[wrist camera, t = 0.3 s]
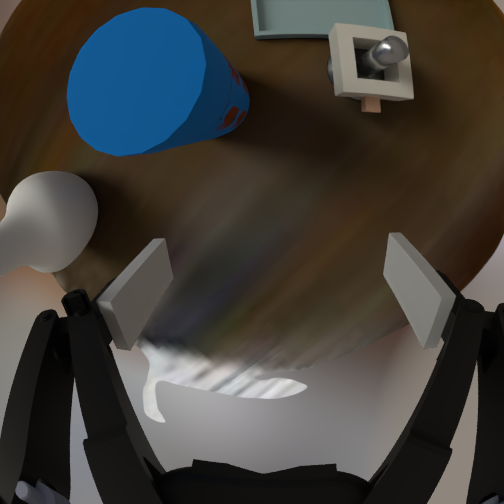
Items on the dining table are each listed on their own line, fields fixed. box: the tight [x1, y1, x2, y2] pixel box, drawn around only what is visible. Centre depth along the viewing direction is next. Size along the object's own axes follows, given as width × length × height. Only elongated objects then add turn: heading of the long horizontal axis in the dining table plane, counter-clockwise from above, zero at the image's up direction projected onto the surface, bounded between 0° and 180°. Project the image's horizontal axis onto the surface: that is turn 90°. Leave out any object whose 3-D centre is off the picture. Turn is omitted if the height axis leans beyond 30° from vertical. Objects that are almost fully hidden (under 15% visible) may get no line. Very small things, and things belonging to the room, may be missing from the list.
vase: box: [0, 171, 98, 277], centre depth 29 cm, size 17×17×35 cm
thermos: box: [67, 8, 250, 156], centre depth 25 cm, size 11×11×25 cm
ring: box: [329, 23, 414, 113], centre depth 26 cm, size 11×9×5 cm
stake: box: [327, 36, 409, 100], centre depth 25 cm, size 9×9×15 cm
